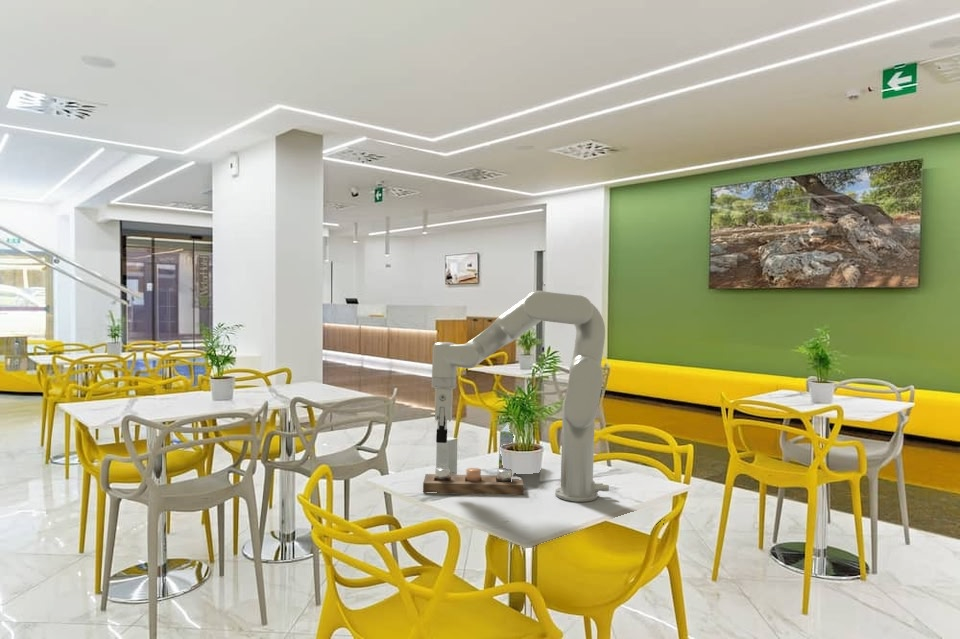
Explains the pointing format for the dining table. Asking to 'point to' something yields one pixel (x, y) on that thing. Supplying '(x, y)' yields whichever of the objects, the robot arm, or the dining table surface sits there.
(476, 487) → the walnut mount
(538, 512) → the dining table surface
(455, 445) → the skincare box
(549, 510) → the dining table surface
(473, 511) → the dining table surface
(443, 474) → the steel knob
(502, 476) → the steel knob
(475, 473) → the peach knob
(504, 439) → the snack box
